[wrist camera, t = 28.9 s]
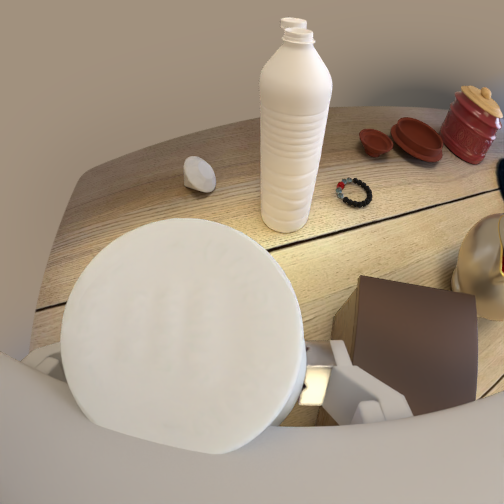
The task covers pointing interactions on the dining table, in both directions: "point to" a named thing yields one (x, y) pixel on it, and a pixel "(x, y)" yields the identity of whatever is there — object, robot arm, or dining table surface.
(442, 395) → the lid
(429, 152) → the pottery
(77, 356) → the pill bottle
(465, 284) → the teapot
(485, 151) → the kitchen canister
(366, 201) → the bracelet
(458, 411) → the robot arm
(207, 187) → the gemstone
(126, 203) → the dining table surface
